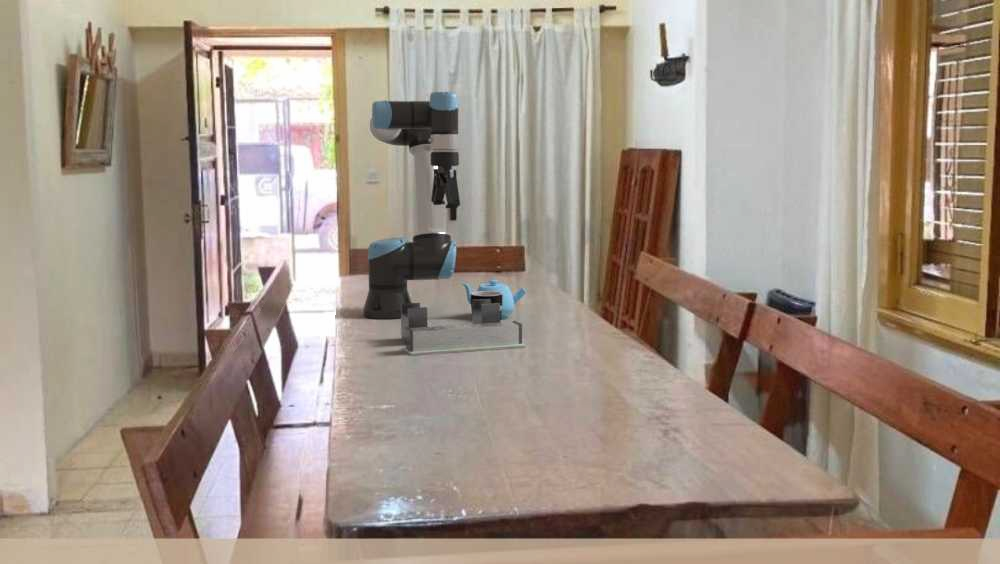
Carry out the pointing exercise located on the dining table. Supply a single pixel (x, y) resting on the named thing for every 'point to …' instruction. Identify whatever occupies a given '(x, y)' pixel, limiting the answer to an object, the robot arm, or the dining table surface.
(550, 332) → the dining table surface
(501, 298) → the mug
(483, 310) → the post
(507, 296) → the teapot
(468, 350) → the mat
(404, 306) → the post
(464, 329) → the rail
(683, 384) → the dining table surface
